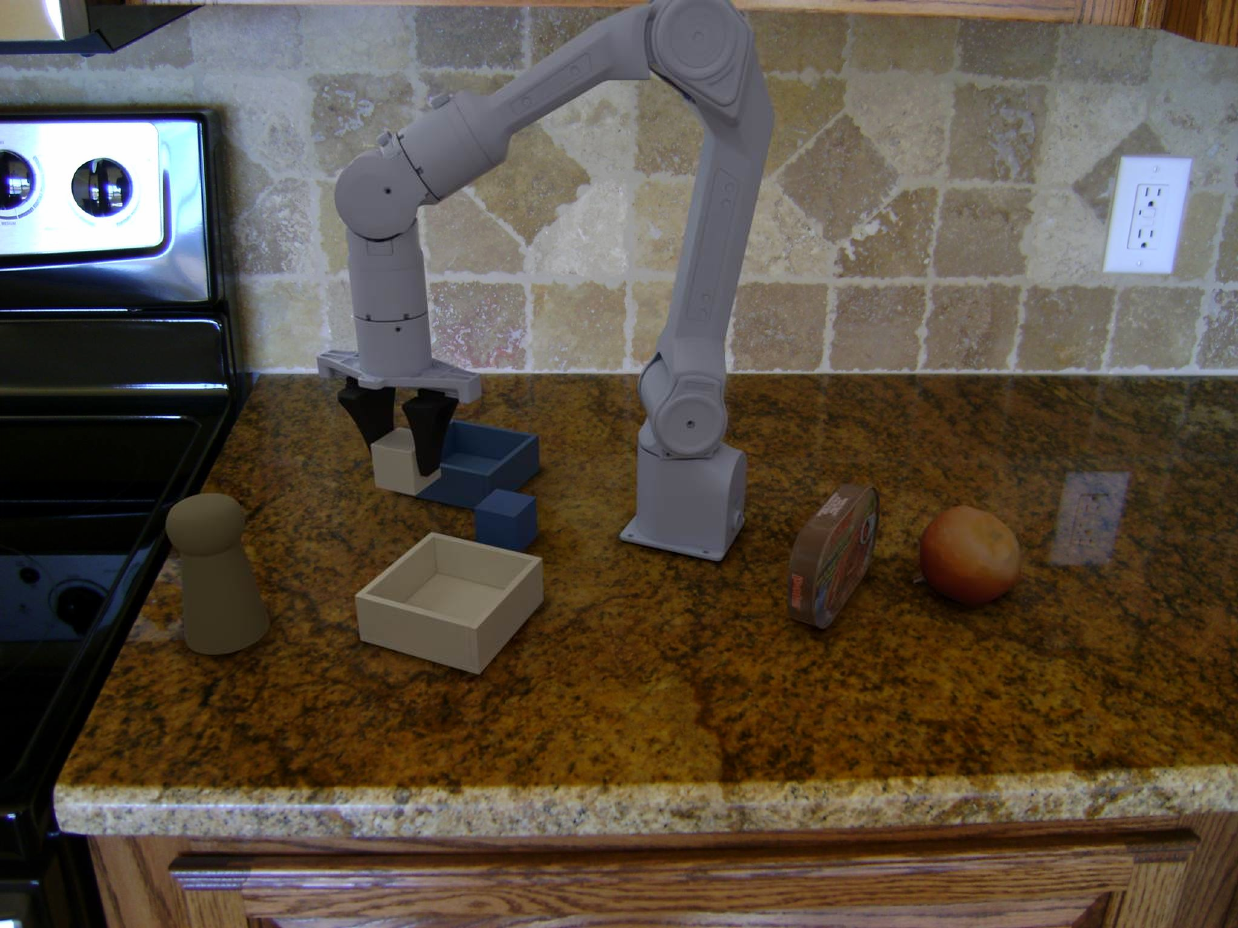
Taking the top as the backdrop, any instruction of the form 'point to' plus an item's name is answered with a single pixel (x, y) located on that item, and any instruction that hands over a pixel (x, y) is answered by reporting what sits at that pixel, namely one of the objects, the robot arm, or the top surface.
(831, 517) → the tin
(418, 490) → the cream block
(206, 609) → the cork
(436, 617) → the cream bin
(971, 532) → the fruit
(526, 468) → the blue bin
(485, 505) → the blue block
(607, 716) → the top surface
